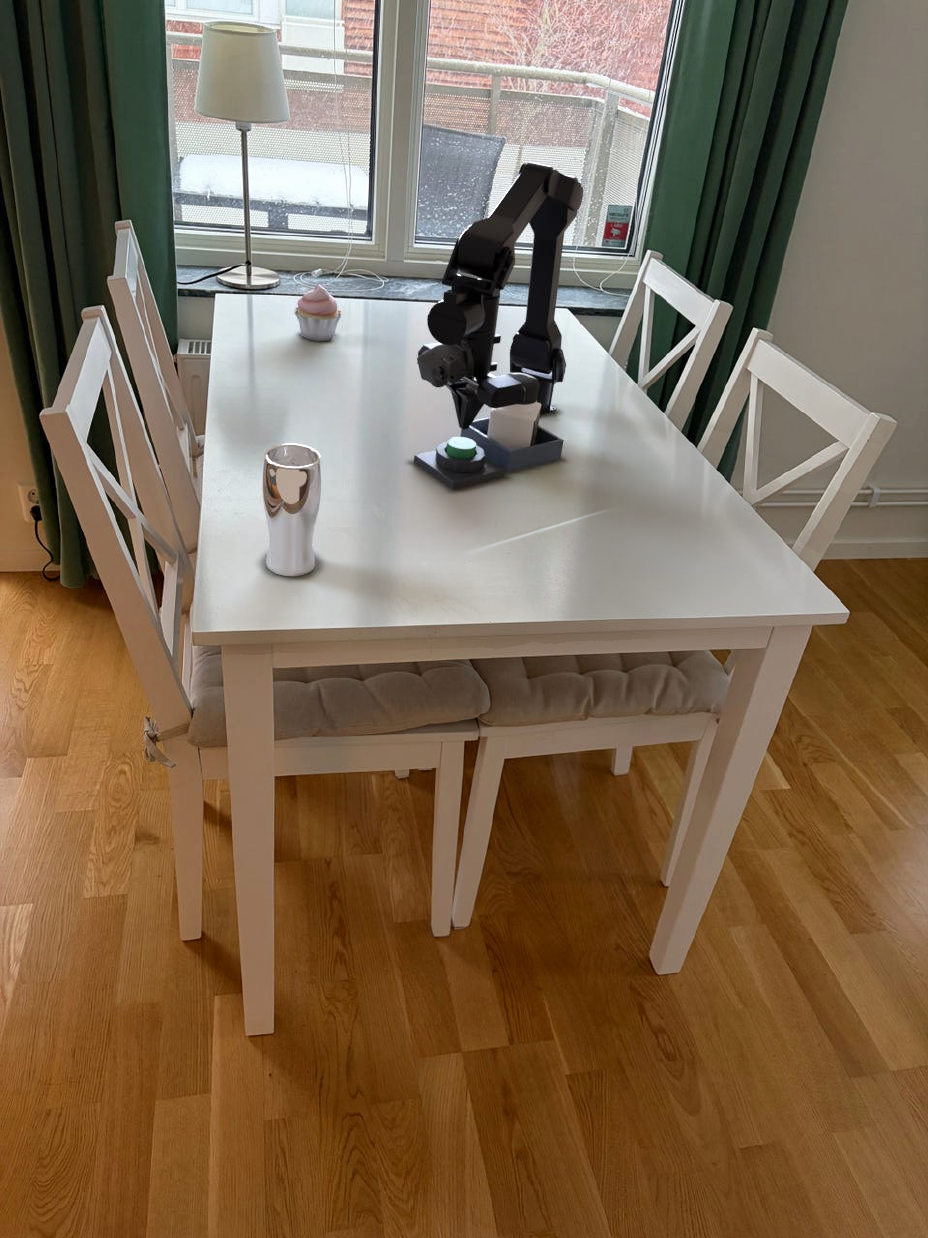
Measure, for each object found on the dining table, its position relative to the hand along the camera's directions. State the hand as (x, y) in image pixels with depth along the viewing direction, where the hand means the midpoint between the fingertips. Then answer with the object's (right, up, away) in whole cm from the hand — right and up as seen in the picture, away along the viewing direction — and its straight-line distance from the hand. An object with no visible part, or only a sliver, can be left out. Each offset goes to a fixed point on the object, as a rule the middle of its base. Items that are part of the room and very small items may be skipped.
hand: (463, 428), depth 149 cm
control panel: (-1, -6, +4) cm, 7 cm away
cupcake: (-29, +27, +46) cm, 60 cm away
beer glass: (-22, -22, -23) cm, 39 cm away
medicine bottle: (+8, -1, +12) cm, 14 cm away
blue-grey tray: (+7, -1, +12) cm, 14 cm away
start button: (0, -3, +2) cm, 4 cm away
